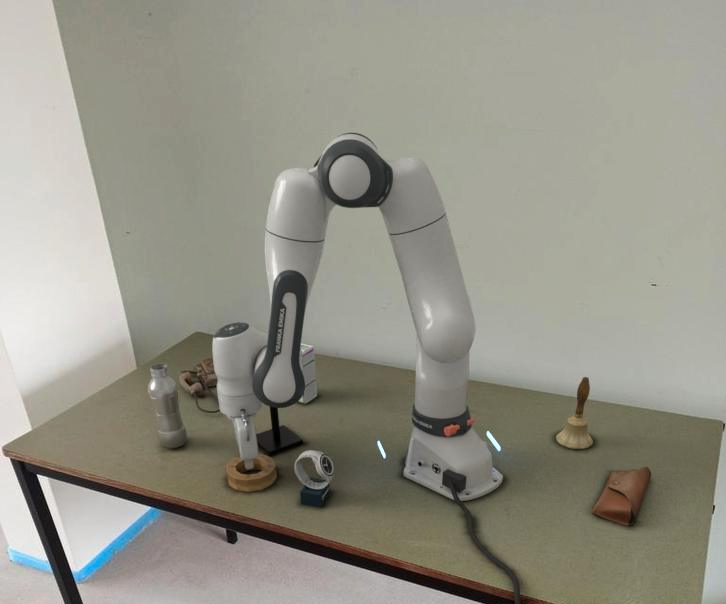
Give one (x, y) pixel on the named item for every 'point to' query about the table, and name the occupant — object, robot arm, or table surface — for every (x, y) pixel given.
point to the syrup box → (308, 373)
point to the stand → (277, 436)
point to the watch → (314, 487)
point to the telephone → (207, 377)
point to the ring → (253, 480)
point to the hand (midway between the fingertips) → (246, 456)
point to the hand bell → (577, 422)
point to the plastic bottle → (166, 407)
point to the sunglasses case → (623, 496)
